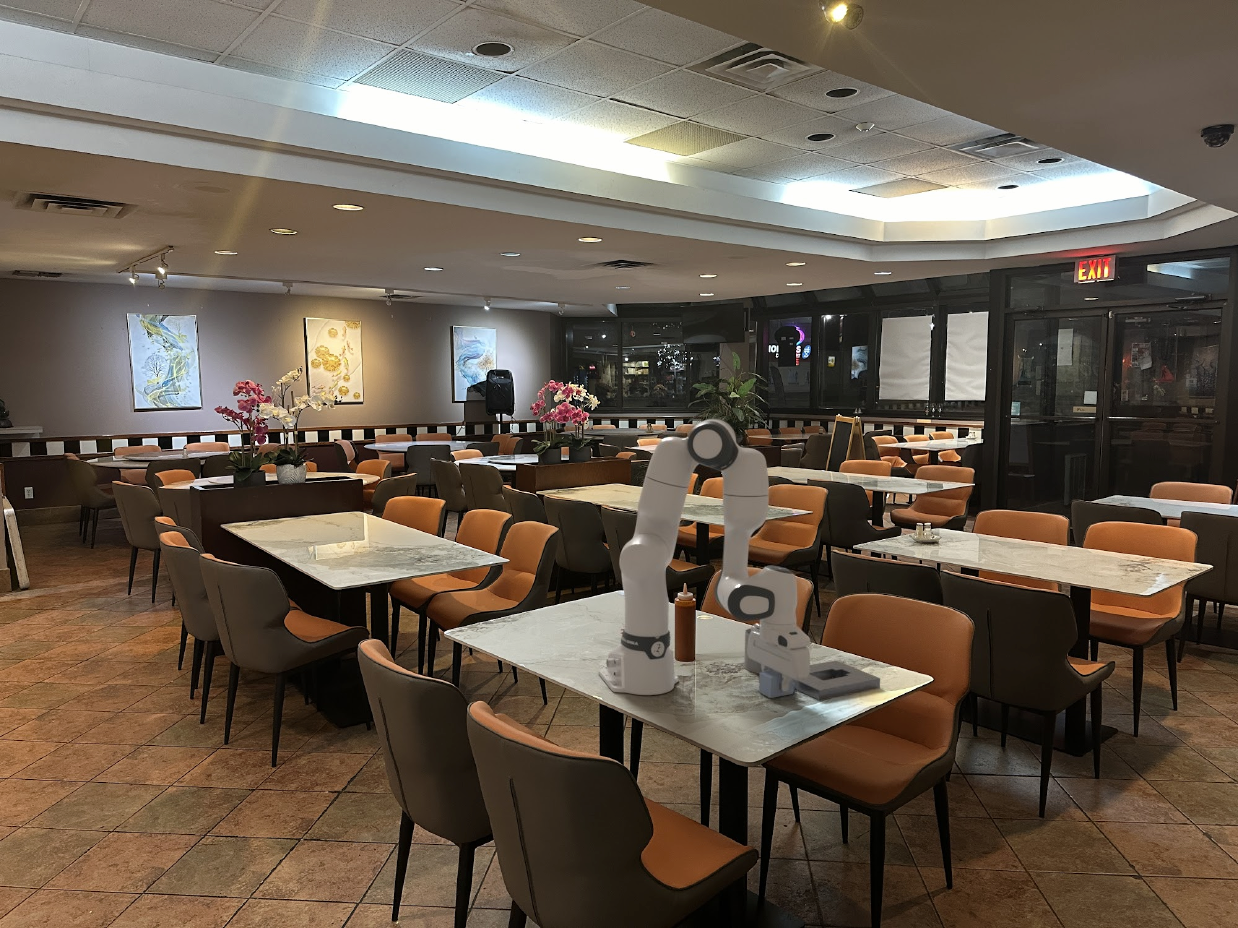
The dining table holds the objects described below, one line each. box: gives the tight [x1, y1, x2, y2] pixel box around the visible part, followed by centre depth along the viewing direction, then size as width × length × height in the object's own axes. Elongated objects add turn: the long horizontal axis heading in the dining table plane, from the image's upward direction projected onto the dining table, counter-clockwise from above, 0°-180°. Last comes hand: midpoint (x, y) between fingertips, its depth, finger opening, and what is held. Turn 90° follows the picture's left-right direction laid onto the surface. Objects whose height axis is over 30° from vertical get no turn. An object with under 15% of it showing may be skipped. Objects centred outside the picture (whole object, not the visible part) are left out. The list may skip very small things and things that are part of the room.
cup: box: [743, 627, 773, 674], centre depth 220 cm, size 8×8×10 cm
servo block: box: [758, 670, 795, 699], centre depth 201 cm, size 4×8×6 cm, turn 118°
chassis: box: [793, 660, 881, 701], centre depth 208 cm, size 16×20×2 cm
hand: (776, 686), depth 200 cm, fingers closed on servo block, 4 cm apart
